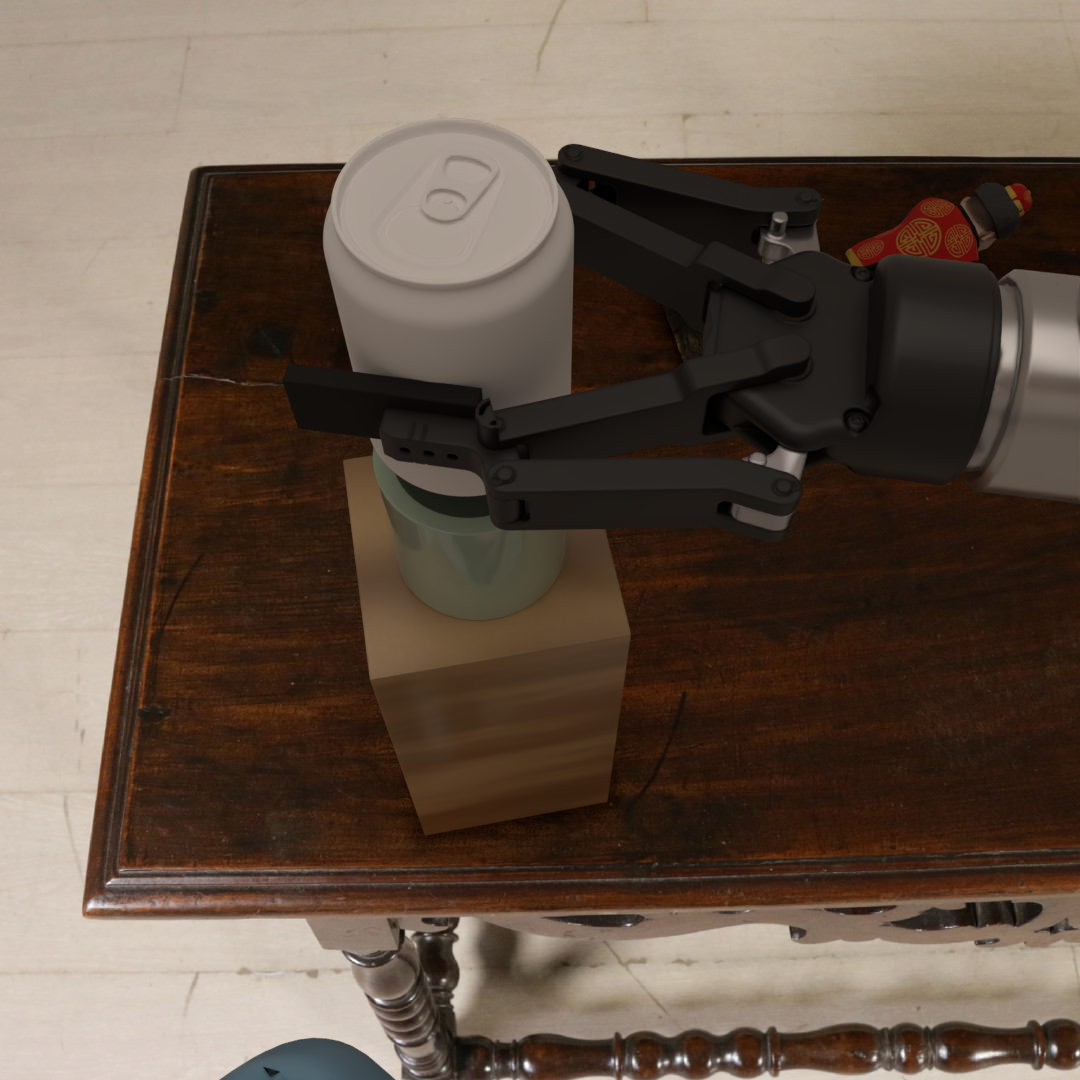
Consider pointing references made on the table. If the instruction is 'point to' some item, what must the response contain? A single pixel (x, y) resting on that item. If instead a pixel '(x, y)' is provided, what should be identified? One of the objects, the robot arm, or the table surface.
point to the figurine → (950, 226)
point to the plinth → (493, 681)
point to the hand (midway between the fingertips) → (326, 297)
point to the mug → (465, 551)
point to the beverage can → (454, 269)
